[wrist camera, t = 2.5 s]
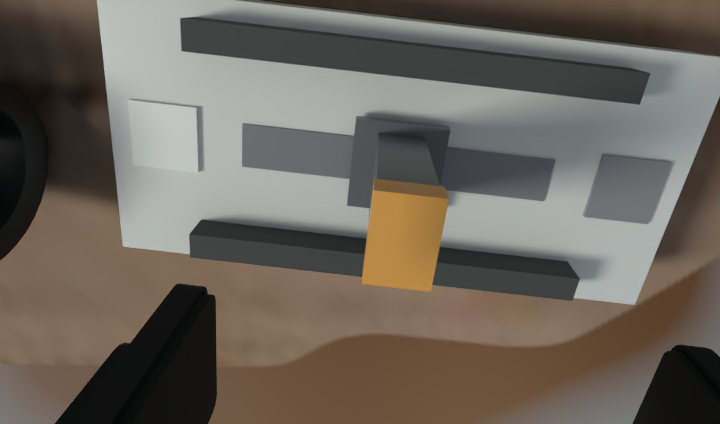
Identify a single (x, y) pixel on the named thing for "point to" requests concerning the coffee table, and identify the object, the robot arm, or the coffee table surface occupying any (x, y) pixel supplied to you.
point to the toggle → (400, 199)
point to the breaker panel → (404, 103)
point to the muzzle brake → (19, 166)
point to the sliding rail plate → (410, 63)
